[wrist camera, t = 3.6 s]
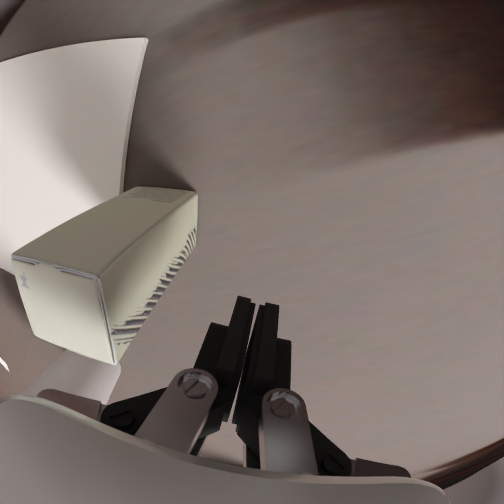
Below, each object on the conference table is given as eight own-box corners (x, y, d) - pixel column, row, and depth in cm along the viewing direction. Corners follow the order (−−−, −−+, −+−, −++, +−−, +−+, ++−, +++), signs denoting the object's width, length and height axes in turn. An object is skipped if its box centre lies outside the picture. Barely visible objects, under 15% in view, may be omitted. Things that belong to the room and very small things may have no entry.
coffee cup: (134, 395, 31) (87, 492, 17) (72, 367, 31) (16, 448, 17) (131, 344, 27) (60, 461, 13) (60, 312, 27) (-20, 401, 13)
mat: (-1, 64, 16) (-5, 64, 16) (148, 39, 16) (144, 37, 15) (-2, 263, 26) (-5, 265, 25) (122, 316, 26) (119, 320, 25)
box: (137, 238, 22) (29, 336, 10) (136, 183, 20) (3, 252, 9) (200, 247, 22) (117, 372, 10) (203, 189, 20) (96, 277, 8)
